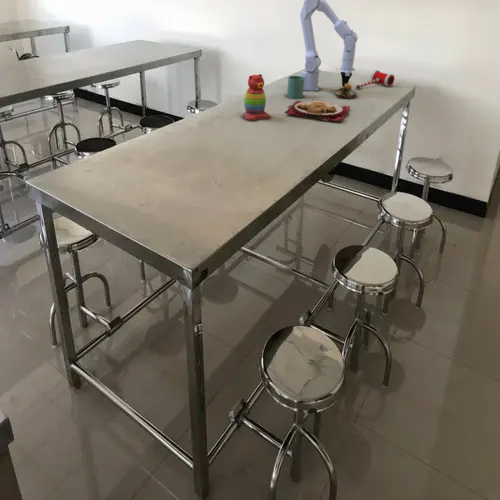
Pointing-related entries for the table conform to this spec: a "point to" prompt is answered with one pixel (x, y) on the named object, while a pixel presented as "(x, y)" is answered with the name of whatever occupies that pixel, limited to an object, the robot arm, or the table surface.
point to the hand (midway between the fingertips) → (344, 87)
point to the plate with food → (318, 110)
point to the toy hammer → (379, 79)
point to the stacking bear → (255, 99)
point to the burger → (345, 91)
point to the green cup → (295, 87)
